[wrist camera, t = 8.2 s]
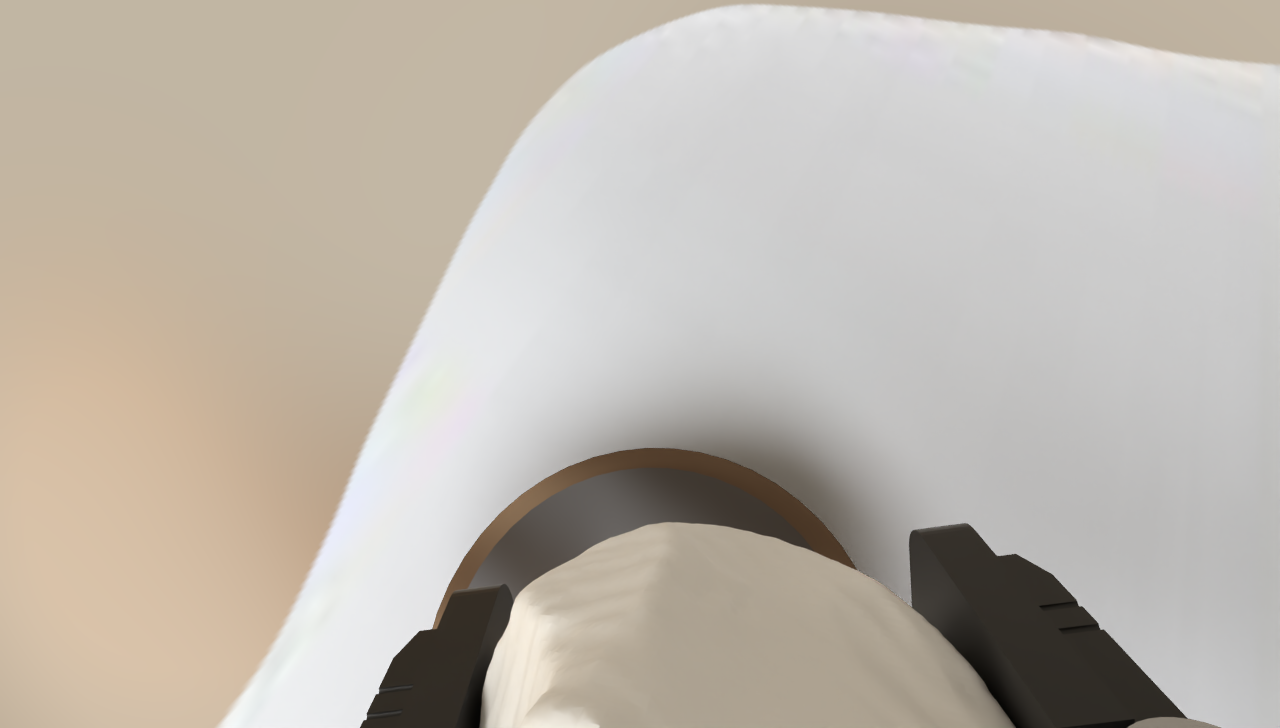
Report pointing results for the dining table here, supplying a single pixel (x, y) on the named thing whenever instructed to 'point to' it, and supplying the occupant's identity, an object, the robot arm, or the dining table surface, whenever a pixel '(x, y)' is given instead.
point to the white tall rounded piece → (723, 643)
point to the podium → (631, 513)
